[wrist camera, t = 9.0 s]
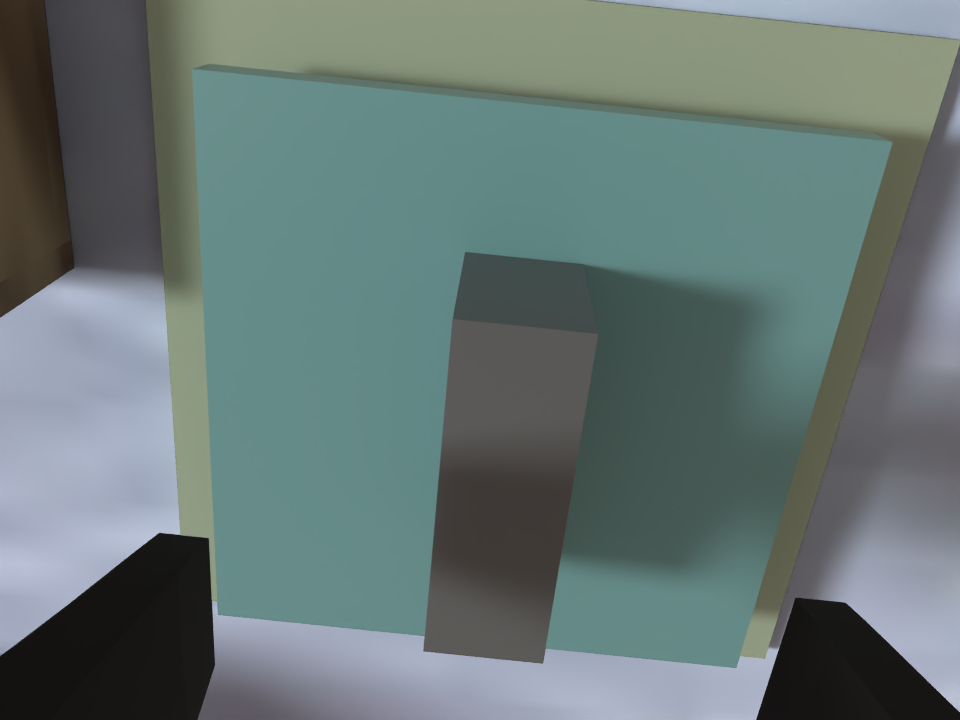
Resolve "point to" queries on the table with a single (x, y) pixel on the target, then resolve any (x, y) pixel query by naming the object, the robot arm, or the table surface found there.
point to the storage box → (29, 159)
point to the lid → (511, 357)
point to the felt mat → (559, 76)
